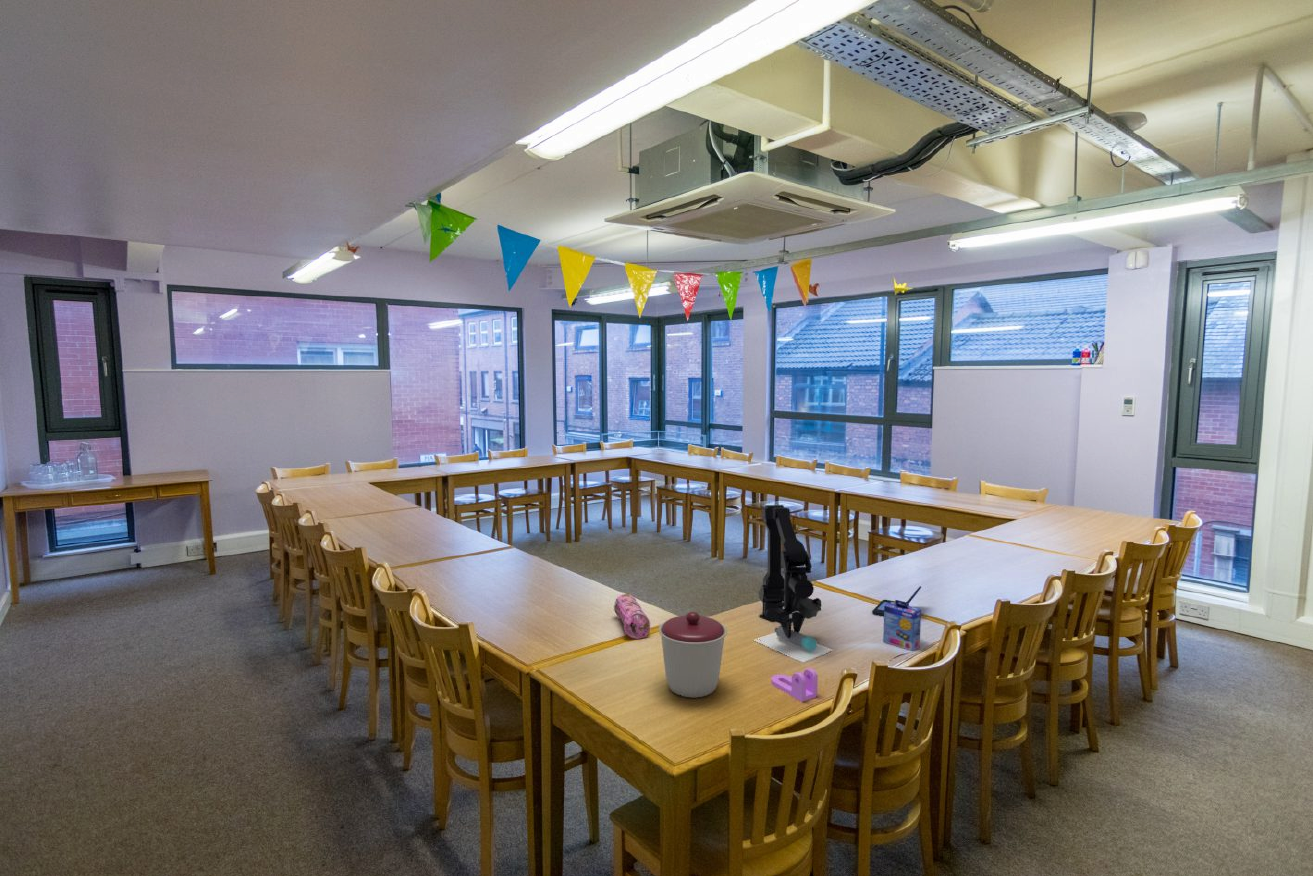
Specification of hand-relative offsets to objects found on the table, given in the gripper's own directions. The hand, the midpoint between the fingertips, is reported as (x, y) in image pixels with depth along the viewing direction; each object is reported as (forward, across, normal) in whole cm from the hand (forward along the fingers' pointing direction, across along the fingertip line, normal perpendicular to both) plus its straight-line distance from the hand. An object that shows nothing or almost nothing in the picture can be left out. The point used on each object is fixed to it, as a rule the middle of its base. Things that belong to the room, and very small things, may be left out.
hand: (792, 636), depth 198 cm
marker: (+2, +1, 0) cm, 2 cm away
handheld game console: (+4, +53, -3) cm, 53 cm away
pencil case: (+3, -31, +42) cm, 53 cm away
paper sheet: (+3, 0, 0) cm, 3 cm away
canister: (+3, -43, -2) cm, 43 cm away
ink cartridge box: (+3, +28, -20) cm, 35 cm away
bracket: (+3, -22, -18) cm, 29 cm away
